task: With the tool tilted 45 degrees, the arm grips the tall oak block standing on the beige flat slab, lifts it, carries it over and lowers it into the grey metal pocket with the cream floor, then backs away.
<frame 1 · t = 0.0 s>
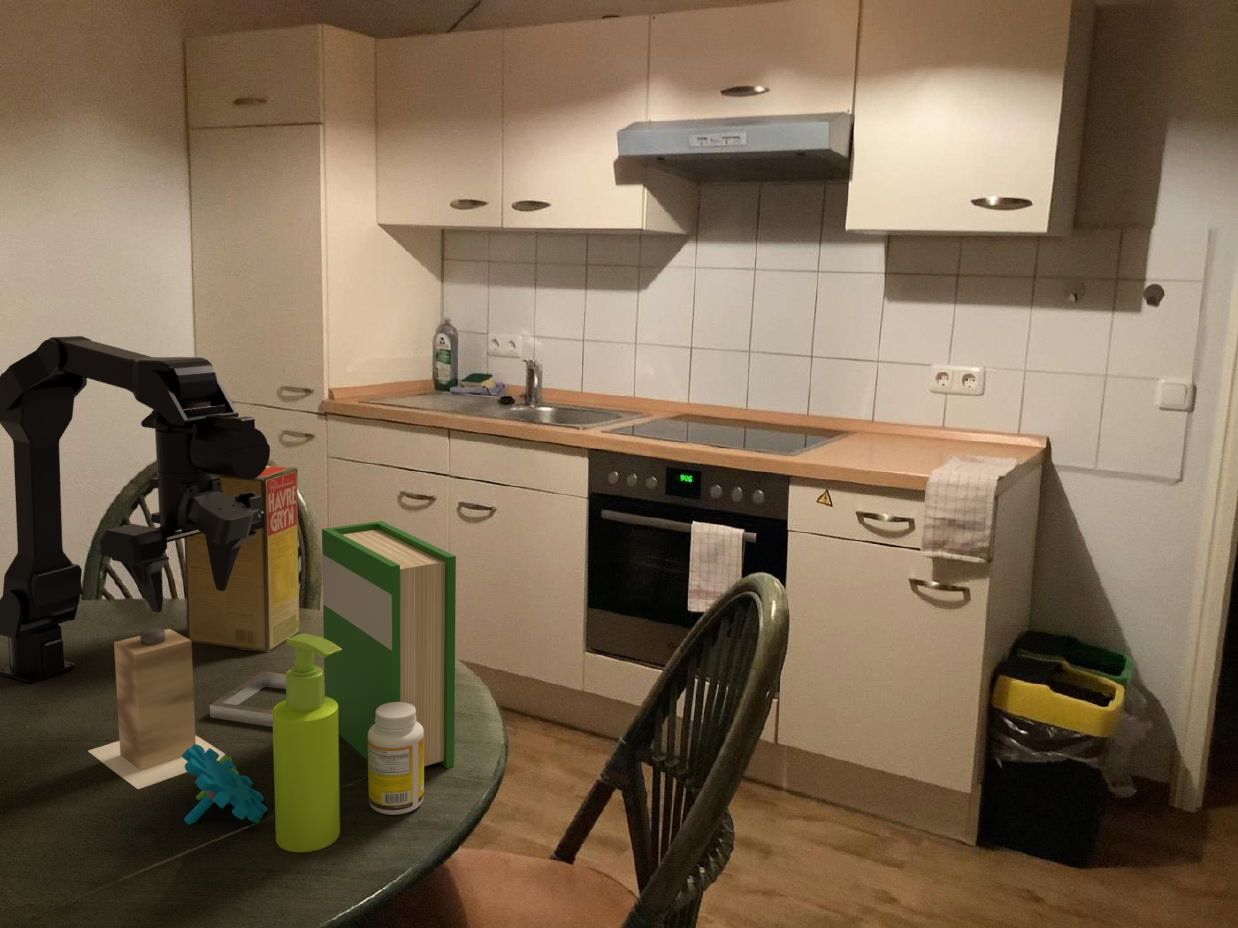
hand: (190, 600, 119), 15 cm above the table, tool pointing down, fingers open, 9 cm apart
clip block: (158, 753, 112), resting on beige flat slab
supplement bottle: (396, 804, 104), on the table
gear: (226, 817, 101), on the table
hardback book: (387, 746, 117), on the table
pocket: (277, 706, 126), on the table
beige flat slab: (158, 756, 112), on the table
soap dispenser: (311, 838, 98), on the table
food packaging: (245, 638, 148), on the table
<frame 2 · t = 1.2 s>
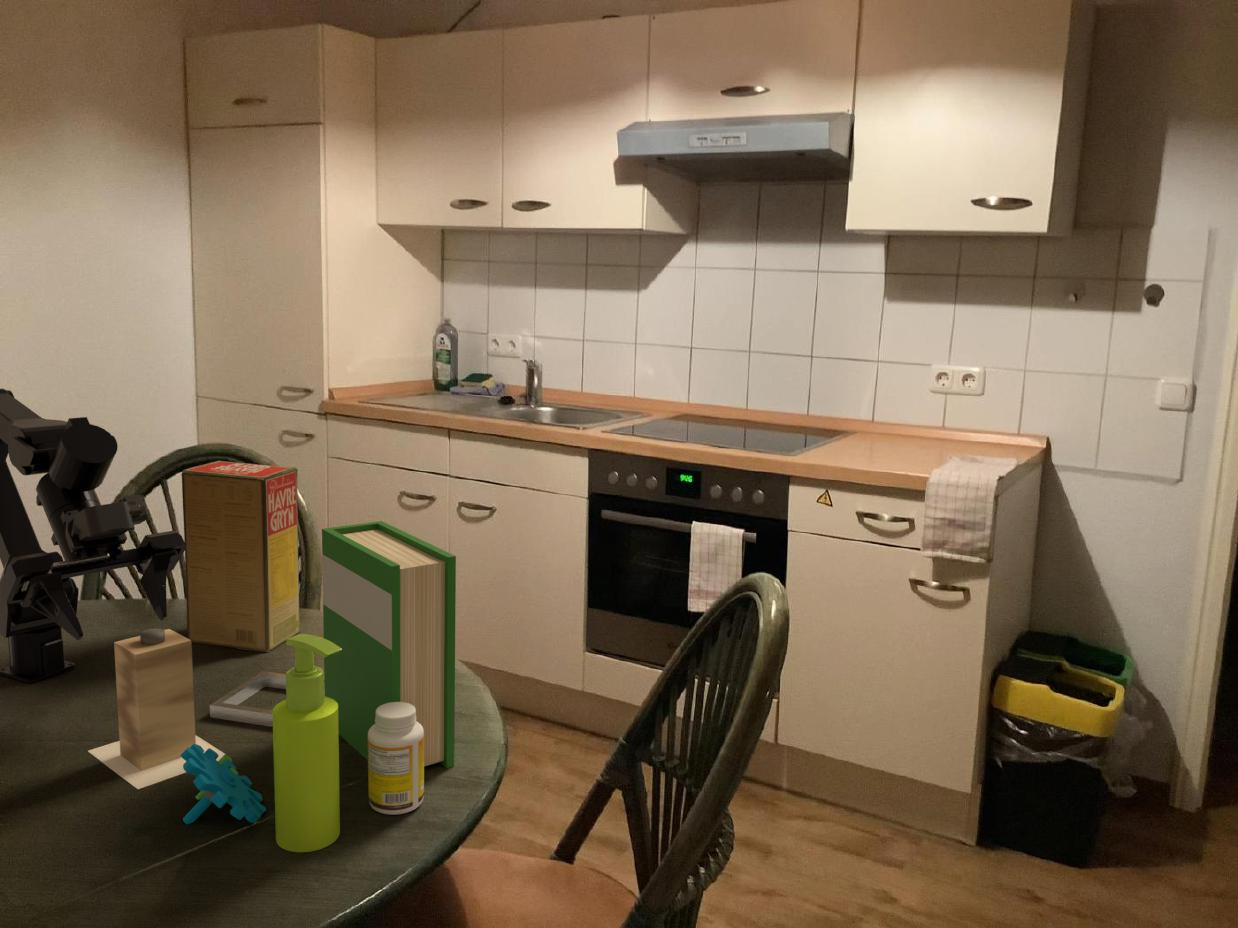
hand: (123, 627, 114), 13 cm above the table, tool tilted 45°, fingers open, 9 cm apart
nothing on the table moved.
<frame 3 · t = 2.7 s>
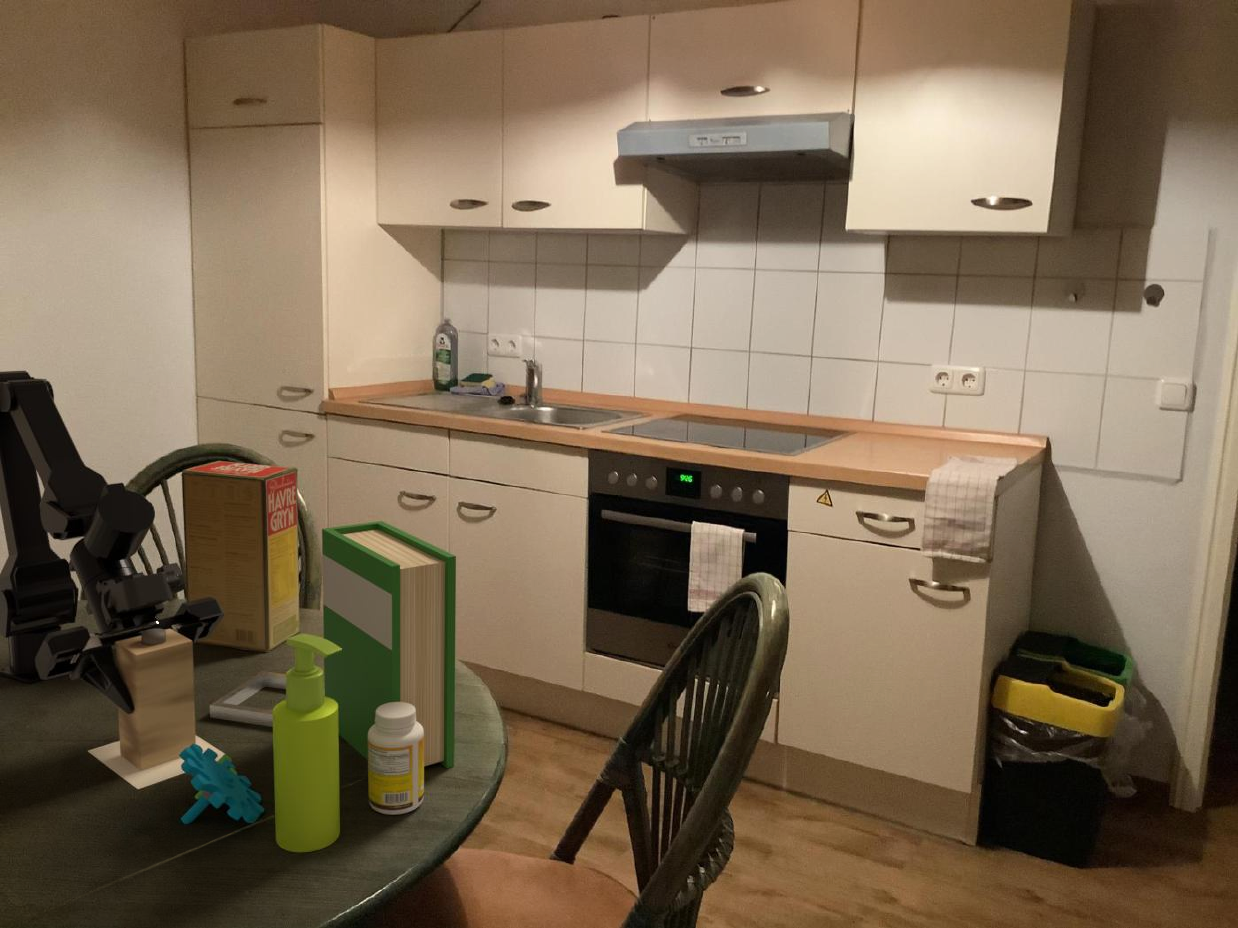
hand: (161, 703, 110), 7 cm above the table, tool tilted 45°, fingers closed on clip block, 6 cm apart
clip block: (158, 753, 112), resting on beige flat slab, touching gripper
everything else where it was.
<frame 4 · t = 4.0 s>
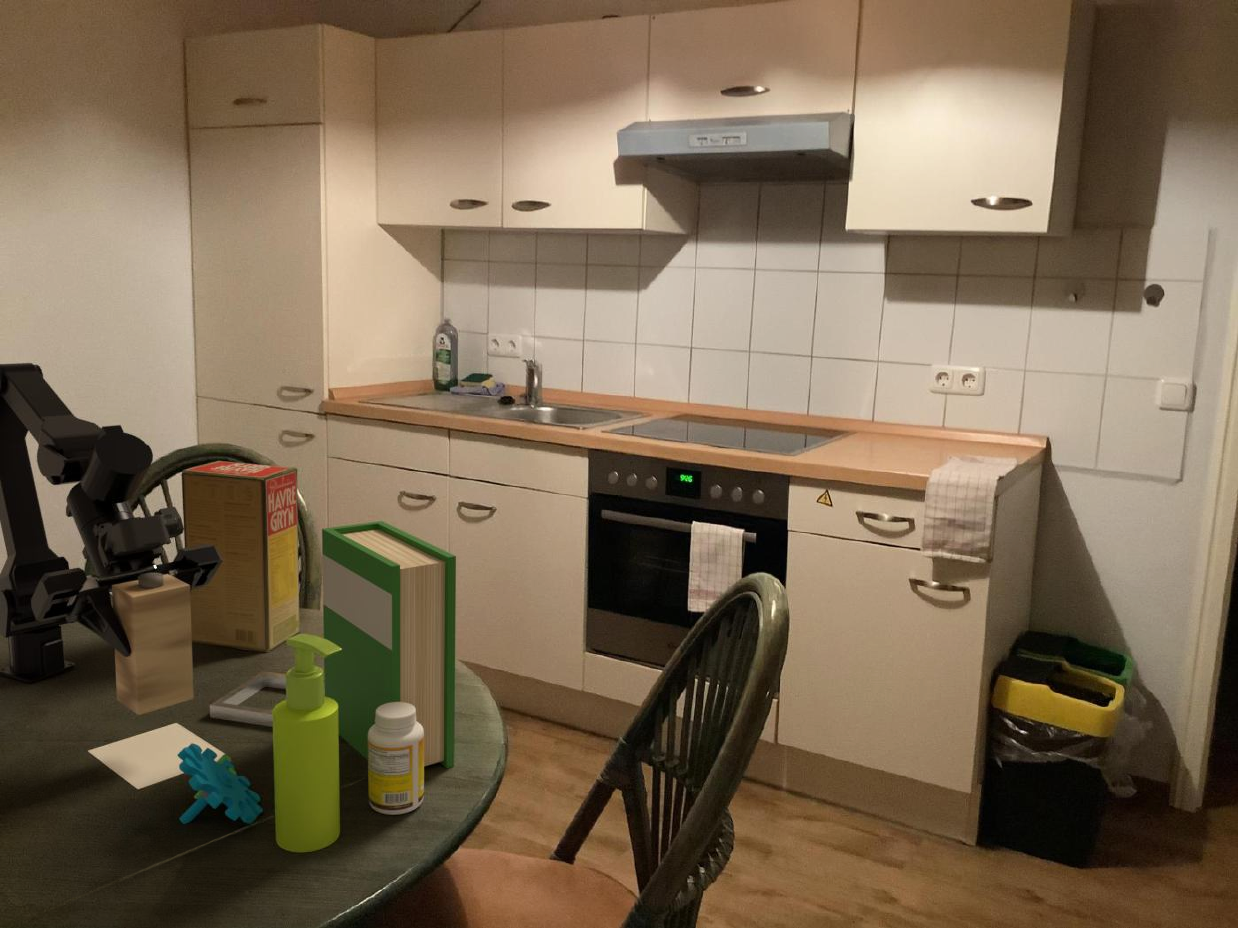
hand: (159, 647, 109), 13 cm above the table, tool tilted 45°, fingers closed on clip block, 6 cm apart
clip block: (155, 699, 111), point 7 cm above the table, touching gripper
everything else where it was.
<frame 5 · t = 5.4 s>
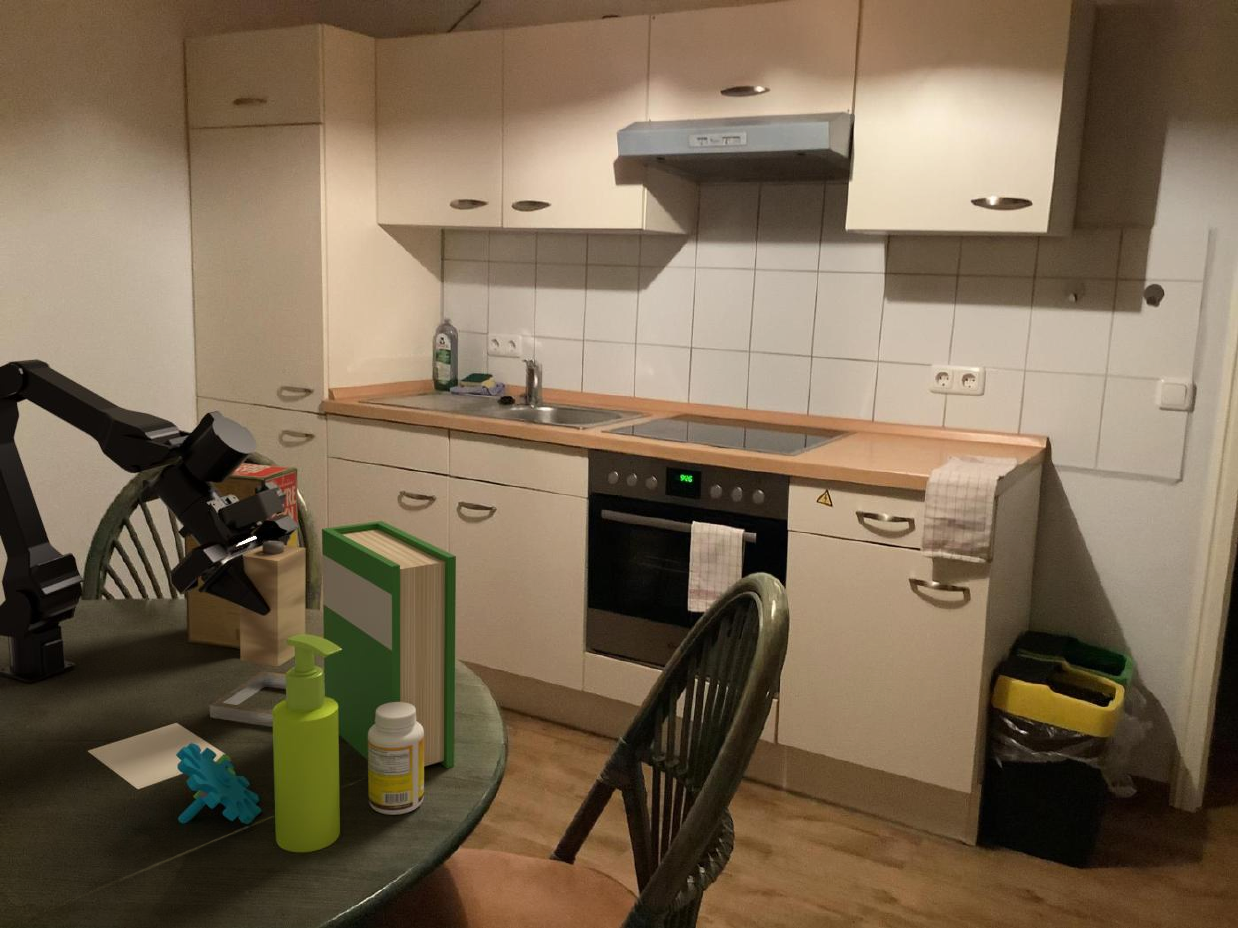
hand: (282, 605, 123), 13 cm above the table, tool tilted 45°, fingers closed on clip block, 6 cm apart
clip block: (273, 654, 124), point 7 cm above the table, touching gripper
everything else where it was.
when the fingers open (8 cm above the table, at t = 7.1 s): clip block drops 1 cm, resting on pocket.
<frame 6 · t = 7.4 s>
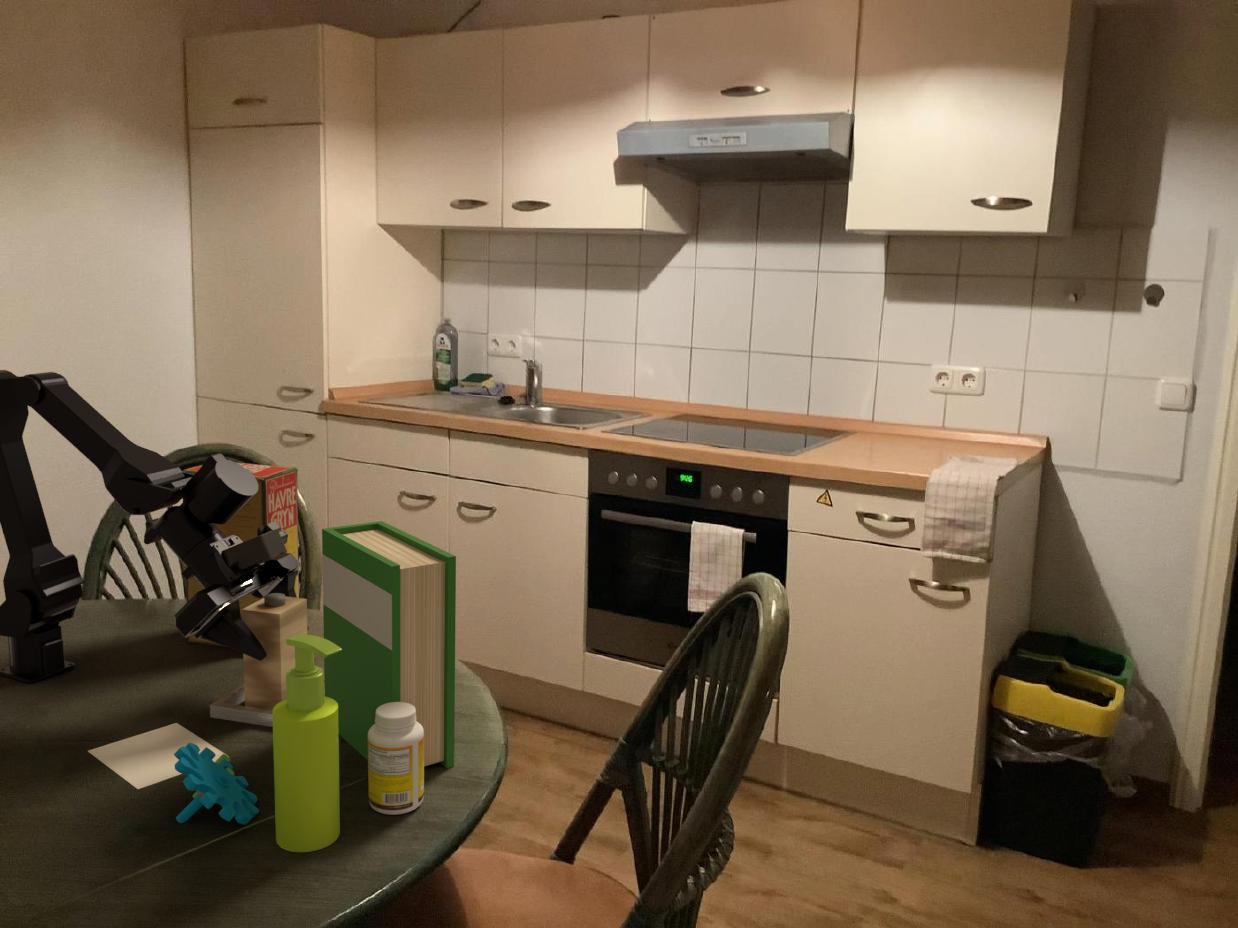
hand: (285, 644, 124), 8 cm above the table, tool tilted 45°, fingers open, 9 cm apart
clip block: (277, 705, 126), resting on pocket
everything else where it was.
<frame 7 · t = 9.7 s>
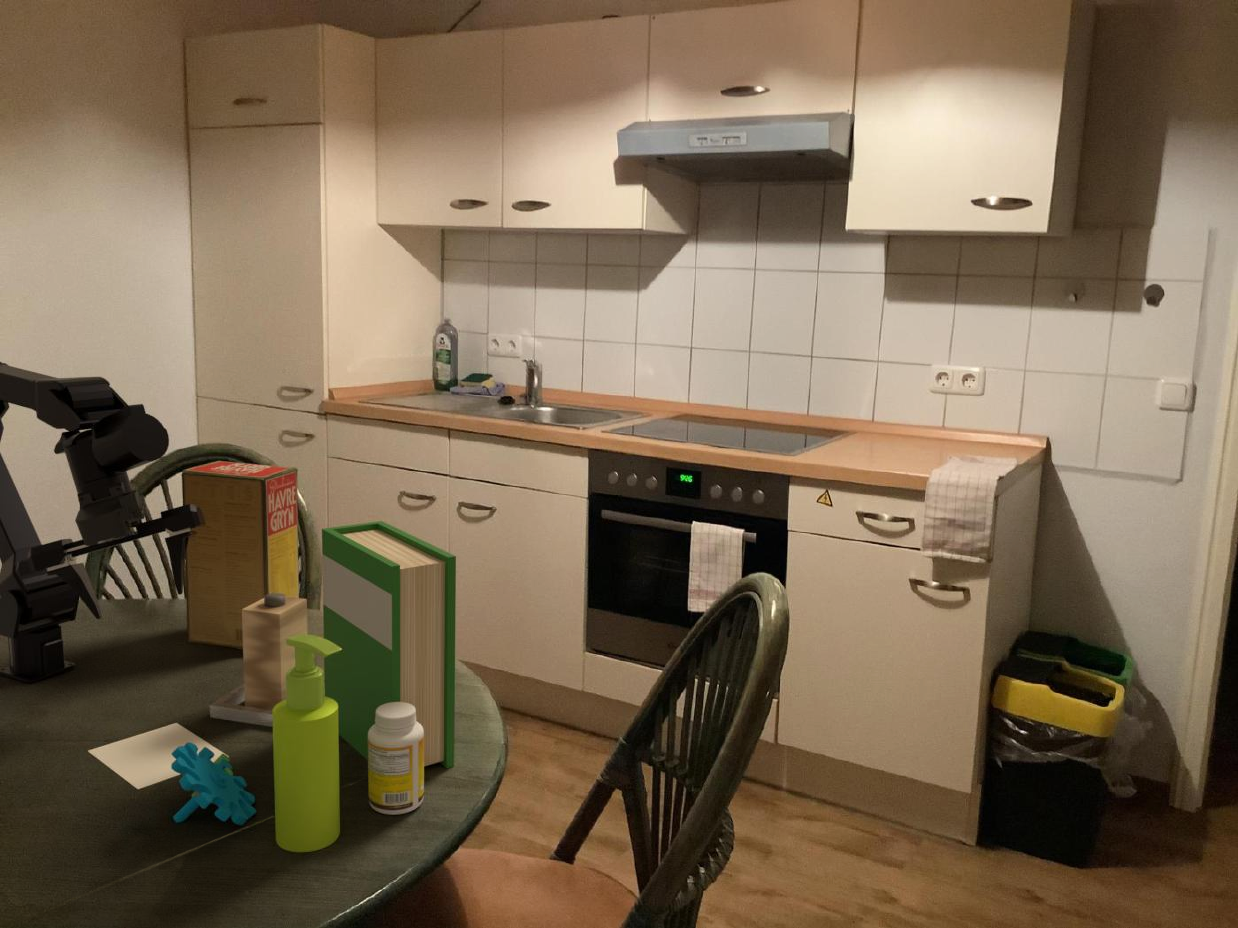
hand: (140, 606, 122), 13 cm above the table, tool tilted 20°, fingers open, 9 cm apart
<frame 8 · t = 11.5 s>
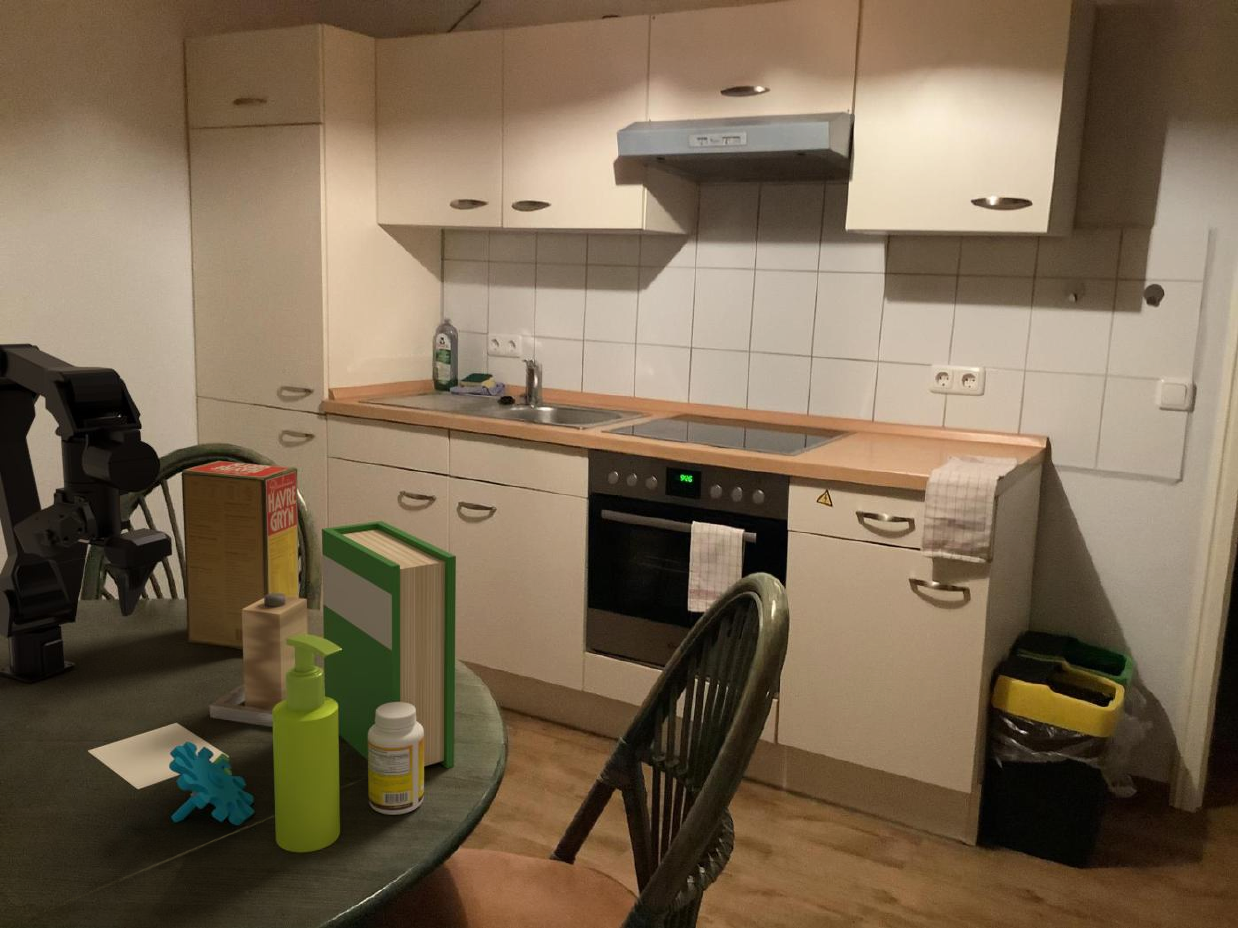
hand: (99, 608, 120), 13 cm above the table, tool pointing down, fingers open, 9 cm apart
at the end: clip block inside the target area on the pocket (0.1 cm from its centre), point 0.2 cm above the pocket's base; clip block tilted 0°; the gripper is holding nothing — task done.
